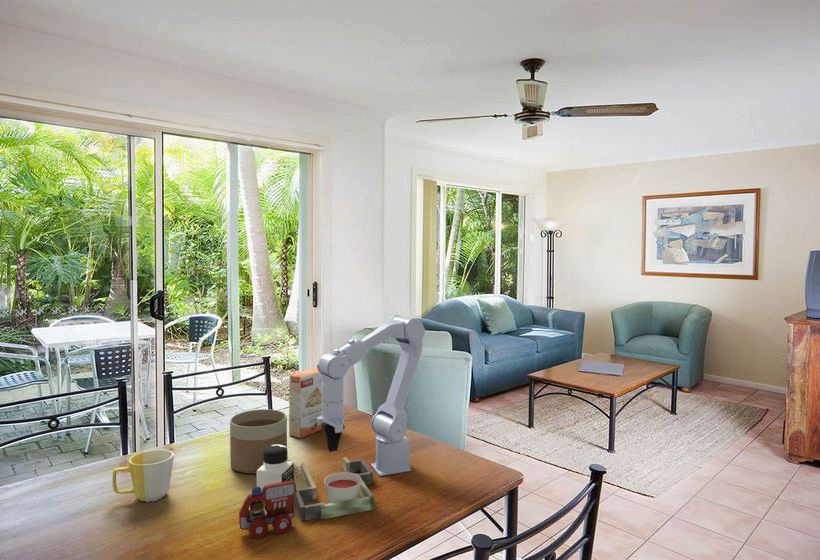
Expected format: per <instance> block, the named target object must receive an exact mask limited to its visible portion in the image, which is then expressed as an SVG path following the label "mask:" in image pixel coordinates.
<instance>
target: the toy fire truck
mask: <svg viewBox="0 0 820 560" xmlns="http://www.w3.org/2000/svg"><path fill="white" fill-rule="evenodd" d="M296 490H297V484H296V482H295V480H294V481H286V482H281V483H276V484H270V485H266V486H264V487H263V490H262V492H261V488H260V487H258V486H257V485H256V486H254V487H253V488H252V489H251V493H250V494H248V495H247V496H246V497H245V500H244V502H243V503H242V506H241V508H240V510H239V512H238V513H239V514H238V516H239V517H238V520H239V524H238V525H239V528H240V529H241V530H242V531H244V530H248V531H249V535H250V536H251V537H252V538H253V539H261V538H264V536H266V534H267V532H268V531H269V525H272V528H273V531H274V532H275V533H276V534H280V535H281V534H282V535H283V534H286V533H288V532H289V530H290V529H291V527H292V524H293V521H292V519H294V517H295V503H294V494H295V493H296Z"/></svg>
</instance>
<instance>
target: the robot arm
mask: <svg viewBox="0 0 820 560" xmlns="http://www.w3.org/2000/svg"><path fill="white" fill-rule="evenodd" d="M423 324H424V323H422V320H420V319H419V318H418V317H417V318H414V317H408V316H402V315H400V314H394V315H393V316H391V317H390V318H387V319H386V320H385V321H384V323H383V324H381V325H380V326H378V327H377V328H376V329H374V330H373V331H372V332H370V333H369V334H367V335H366V336H364V337H363V338H362V339H358V338H354V339H353V338H350V339H349V340H347V343H346V344H344V345H342V346H341V347H339V348H335V349H334V350H333V352H332V353H328V352H327V353H325V354H323V355H322V356H321V358H320V359H319V362H318V364H316V368H317V369H318V371H319V372H320V373H321V379H322V415H321V416H320V417H317V420H318V421H323V422H325V423H321V426H322V428H323V430H322V431H323V433H324V437H325V442H326V446H327V450H328V451H329V452H330V453H332V452H337V451H338V448H339V443H340V439H341V436H342V434H343V432H344V430H345V428H346V426H345V424H344V420H345V415H344V414H345V413H344V411H345V410H344V377H345V376H346V375H347V373H348V371H349V369H350V368H351V367H352V366H354V365H356V364H358V363H359V362H360V361H362V360H364V359H365V358H367V356H368V351H370V350H371V349H373V348H375V347H376V346H379V345H380V344H382V343H384V342H385V341H387V340H389V339H391V338H392V339H394V340H395V341H396V342H398V344H399V346H400V349H401V354H400V356H399V360H398V363H397V366H396V370H395V373H394V374H393V378H392V382H391V385H390V388H389V390H388V394H387V396H386V400H385V402H384V403H382V404H381V405H379V406H378V409H377V411H376V413H375V414H374V415H373V416H372V419H371V422H370V427H371V430H372V431H373V432H374V437H375V462H373V463H371V464H370V466H371V467H372V469H373V470H374V471H375V472H376V473H377V474H378V476H379V477H382V476H383V477H384V476H388V475H394V474H400V473H406V472H407V473H408V472H411V471H412V469H411V446H410V441H409V439H408V437H407V436H406V433H407V423H408V422H407V421H408V419H409V417H408V415H407V412H406V410H405V406H406V402H407V399H408V396H409V393H410V391H411V387H412V385H413V384H412V383H413V380H414V377H415V373H416V370H417V367H418V364H419V362H420V361H419V360H420V359H421V358H420V357H421V355H422V353H423V352H422V351H423V339H424V336H425V333H426V329H425V327H424V325H423Z"/></svg>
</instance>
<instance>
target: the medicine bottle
mask: <svg viewBox="0 0 820 560" xmlns="http://www.w3.org/2000/svg"><path fill="white" fill-rule="evenodd" d="M263 464H264V465H262V466H261V467H260V468H259V469H258V470H257V473H256V486H258V487H260V488H261V492H262V490H263V487H264V486H266V485H270V484H276V483H281V482H286V481H294V482H295V462H294V461H291V460H290V461H288V446H287V447H286V446H283V445H278V444H277V445H271V446H268V447H266V448H265V449H264V450H263Z"/></svg>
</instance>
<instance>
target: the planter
mask: <svg viewBox="0 0 820 560" xmlns="http://www.w3.org/2000/svg"><path fill="white" fill-rule="evenodd" d="M229 427H230V428H229V435H230V436H229V442H230V443H229V445H230V448H229V449H230V467H231V469H233V470H234V471H236V472H239V473H243V474H257V470H258V469H259V468H260V467H261V466H262V465H264V464H263V450H264V449H265V448H266V447H268V446H271V445H277V444H278V445H283V446H286V447H287V448H288V418H287V413H286V412H284V411H281V410H278V409H271V408H270V409H268V408H267V409H266V408H264V409H253V410H252V409H251V410H247V411H243V412H240V413H239V412H238V413H236V414H235V415H233V416H232V417H231V418H230V420H229Z"/></svg>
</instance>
